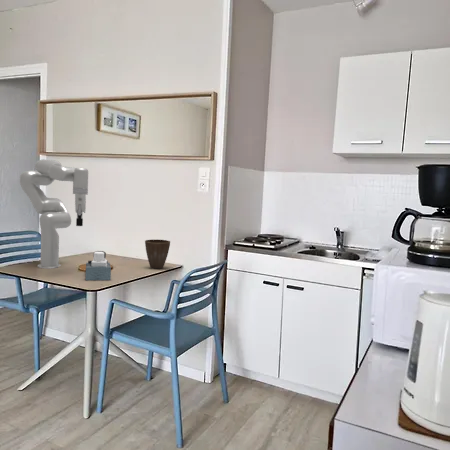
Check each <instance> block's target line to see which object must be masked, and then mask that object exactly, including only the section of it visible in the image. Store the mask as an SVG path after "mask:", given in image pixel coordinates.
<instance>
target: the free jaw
mask: <svg viewBox="0 0 450 450" xmlns="http://www.w3.org/2000/svg"><path fill="white" fill-rule="evenodd" d="M92 261H93V260H87V262H86V263H85V267H86V266H91V262H92ZM107 266H111V263H110V262H109V260H107Z"/></svg>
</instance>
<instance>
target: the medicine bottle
mask: <svg viewBox="0 0 450 450" xmlns="http://www.w3.org/2000/svg"><path fill="white" fill-rule="evenodd" d="M106 254H107V253H106V252H105V251H104V250H96V251H94V252H93V255H92V256H93V260H91V261H92V262H91V266H107V261H108V259H106V257H107V255H106Z"/></svg>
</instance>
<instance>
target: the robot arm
mask: <svg viewBox="0 0 450 450" xmlns="http://www.w3.org/2000/svg"><path fill="white" fill-rule="evenodd" d="M34 168H35V170H32V169H31V170H24V171H23V172H21V173H20V176H19V184H20V187H21V189H22V191H23V193H24V194H25V195H26V196H27V197H28V199H29V201H30V202H31V204H32V206H33V208H34V209H35V212H37V214H39V215H40V216H39V217H38V219H39V221H38V222H39V227H40V263H39V264H37V267H38V268H40V269H58V268H59V267H61V266H62V264H60V263H59V262H60V261H59V259H60V256H59V255H60V254H59V253H60V235H59V233H58V231H57V229H67V228H69V227H70V226H71V225H72V218H71V217H72V216H71V214H70V213H69V211H68V209H67V208H66V206H65V204H64V203H63V201H62V200H61V199H59V198H55V197H47V195H46V194H45V192H44V191H43V190H42V189H41V188H40V187H39V186H49V185H51V184H52V183H53V182H54V181H55V180H56V181H59V182H60V181H61V182H71V183H72V195H74V207H75V208H74V209H75V210H74V211H75V213H76V222H75V223H76V224H75V225H76V227H83V223H84V222H83V221H84V219H83V214H85V213H86V207H87V206H86V203H87V196H86V195H88V194H89V169H88V168H84V167H83V168H82V167H70V166H62V164H61V163H60V162H59V161H58V160H53V159H45V158H44V159H39V160H37V161H36V162H35V164H34Z"/></svg>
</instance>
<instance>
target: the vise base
mask: <svg viewBox="0 0 450 450" xmlns="http://www.w3.org/2000/svg"><path fill="white" fill-rule="evenodd" d="M111 273H112V267H111V265H110V266H86V265H85V281H111V279H112V278H111V277H112V275H111Z"/></svg>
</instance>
